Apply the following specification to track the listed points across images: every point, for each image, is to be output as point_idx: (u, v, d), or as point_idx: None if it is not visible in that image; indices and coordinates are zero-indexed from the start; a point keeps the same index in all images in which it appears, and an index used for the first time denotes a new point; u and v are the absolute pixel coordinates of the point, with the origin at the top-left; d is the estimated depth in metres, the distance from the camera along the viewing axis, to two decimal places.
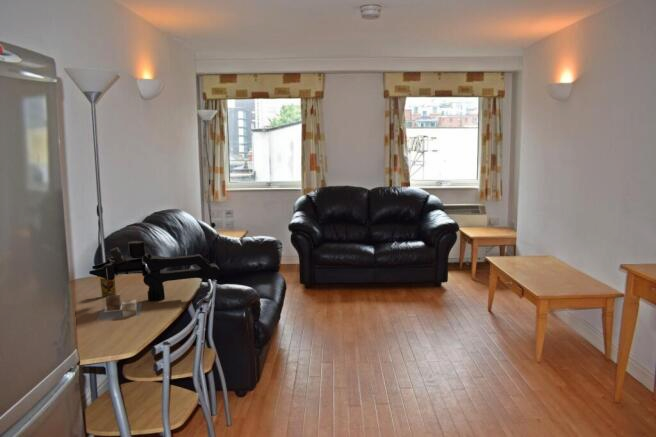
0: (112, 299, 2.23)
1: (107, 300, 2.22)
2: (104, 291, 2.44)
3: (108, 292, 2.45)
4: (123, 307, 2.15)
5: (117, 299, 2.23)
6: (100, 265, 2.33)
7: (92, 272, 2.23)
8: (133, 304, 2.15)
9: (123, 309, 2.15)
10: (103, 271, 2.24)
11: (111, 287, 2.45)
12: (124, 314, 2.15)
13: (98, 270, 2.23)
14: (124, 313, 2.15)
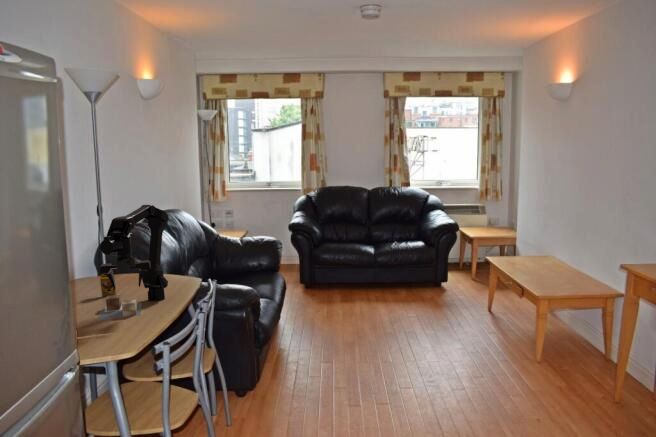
0: (112, 299, 2.23)
1: (107, 300, 2.22)
2: (104, 291, 2.44)
3: (108, 292, 2.45)
4: (123, 307, 2.15)
5: (117, 299, 2.23)
6: (114, 281, 2.14)
7: (140, 283, 2.18)
8: (133, 304, 2.15)
9: (123, 309, 2.15)
10: None
11: (111, 287, 2.45)
12: (124, 314, 2.15)
13: (141, 277, 2.17)
14: (124, 313, 2.15)
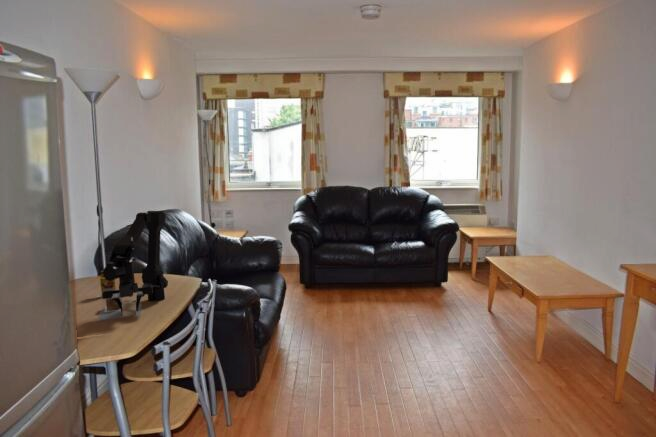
0: None
1: (107, 300, 2.22)
2: None
3: None
4: (123, 307, 2.15)
5: None
6: (121, 305, 2.16)
7: None
8: (133, 304, 2.15)
9: (123, 309, 2.15)
10: None
11: (111, 287, 2.45)
12: (124, 314, 2.15)
13: None
14: (124, 313, 2.15)
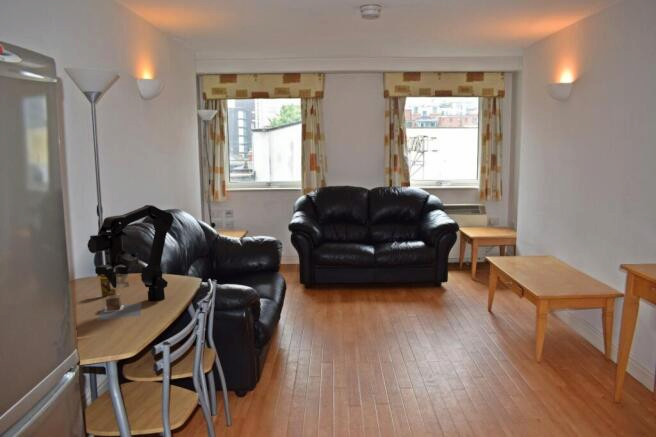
0: (112, 299, 2.23)
1: (107, 300, 2.22)
2: (104, 291, 2.44)
3: (108, 292, 2.45)
4: (120, 280, 2.17)
5: (117, 299, 2.23)
6: None
7: None
8: (126, 276, 2.21)
9: (120, 282, 2.17)
10: None
11: None
12: (121, 287, 2.18)
13: None
14: (121, 286, 2.18)
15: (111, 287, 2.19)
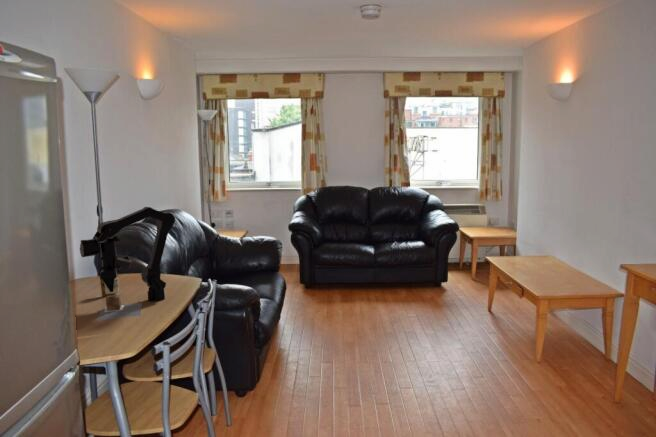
0: (112, 299, 2.23)
1: (107, 300, 2.22)
2: (104, 291, 2.44)
3: None
4: (117, 283, 2.23)
5: (117, 299, 2.23)
6: None
7: None
8: (118, 279, 2.26)
9: (117, 285, 2.23)
10: None
11: None
12: (118, 290, 2.23)
13: None
14: (118, 289, 2.23)
15: (107, 292, 2.22)
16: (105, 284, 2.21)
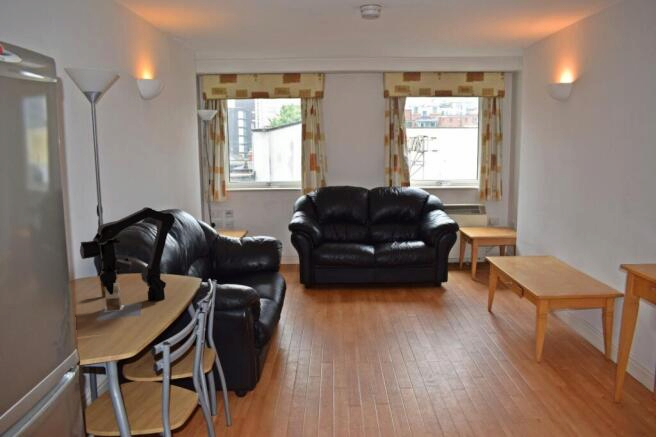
0: (112, 299, 2.23)
1: (107, 300, 2.22)
2: (104, 291, 2.44)
3: None
4: (118, 289, 2.23)
5: (117, 299, 2.23)
6: None
7: None
8: None
9: (118, 290, 2.23)
10: None
11: None
12: (118, 295, 2.24)
13: None
14: (118, 294, 2.24)
15: (107, 297, 2.22)
16: (105, 289, 2.21)
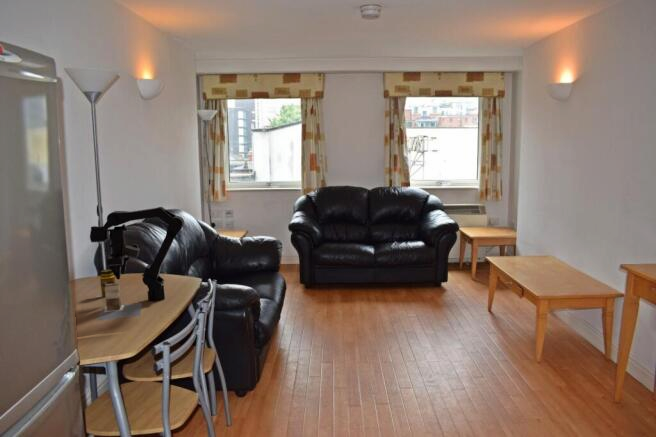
0: (112, 299, 2.23)
1: (107, 300, 2.22)
2: (104, 291, 2.44)
3: None
4: (118, 289, 2.23)
5: (117, 299, 2.23)
6: None
7: None
8: None
9: (118, 290, 2.23)
10: None
11: None
12: (118, 295, 2.24)
13: None
14: (118, 294, 2.24)
15: (107, 297, 2.22)
16: (105, 289, 2.21)
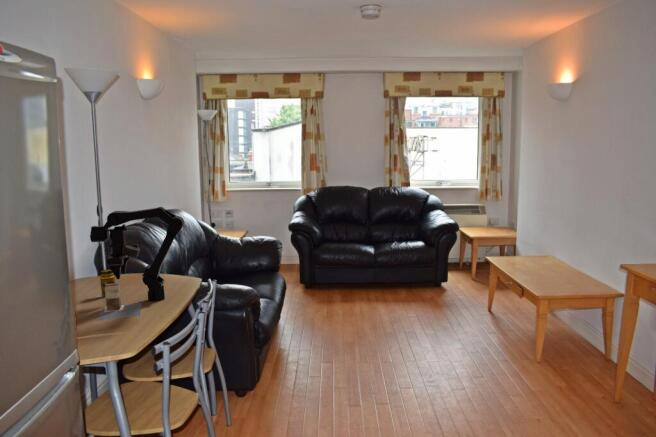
0: (112, 299, 2.23)
1: (107, 300, 2.22)
2: (104, 291, 2.44)
3: None
4: (118, 289, 2.23)
5: (117, 299, 2.23)
6: None
7: None
8: None
9: (118, 290, 2.23)
10: None
11: None
12: (118, 295, 2.24)
13: None
14: (118, 294, 2.24)
15: (107, 297, 2.22)
16: (105, 289, 2.21)
